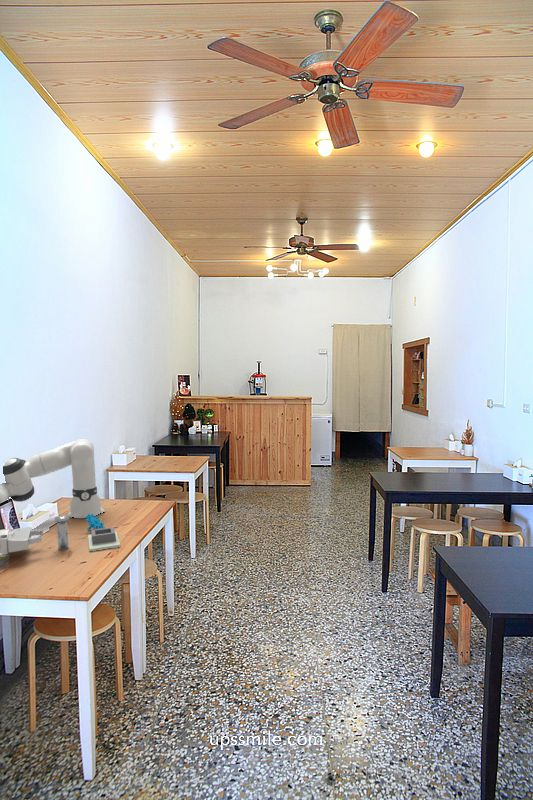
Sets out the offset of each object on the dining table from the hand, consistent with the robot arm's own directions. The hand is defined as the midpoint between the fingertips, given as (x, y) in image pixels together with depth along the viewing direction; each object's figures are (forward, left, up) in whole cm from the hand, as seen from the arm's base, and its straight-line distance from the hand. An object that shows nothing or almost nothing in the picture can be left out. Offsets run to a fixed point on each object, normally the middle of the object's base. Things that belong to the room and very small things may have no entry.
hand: (42, 535), depth 206 cm
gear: (-21, +21, -7) cm, 31 cm away
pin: (0, +8, -7) cm, 10 cm away
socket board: (0, +24, -7) cm, 25 cm away
